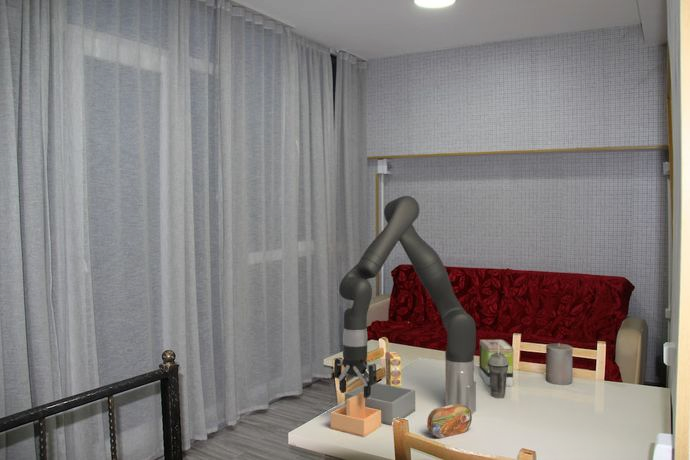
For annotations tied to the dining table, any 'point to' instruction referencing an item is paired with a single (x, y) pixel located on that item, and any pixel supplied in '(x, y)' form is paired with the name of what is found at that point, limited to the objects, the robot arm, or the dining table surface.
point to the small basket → (356, 417)
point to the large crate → (388, 401)
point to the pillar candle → (559, 364)
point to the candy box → (393, 369)
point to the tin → (449, 420)
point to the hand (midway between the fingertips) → (354, 394)
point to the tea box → (490, 348)
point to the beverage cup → (498, 374)
